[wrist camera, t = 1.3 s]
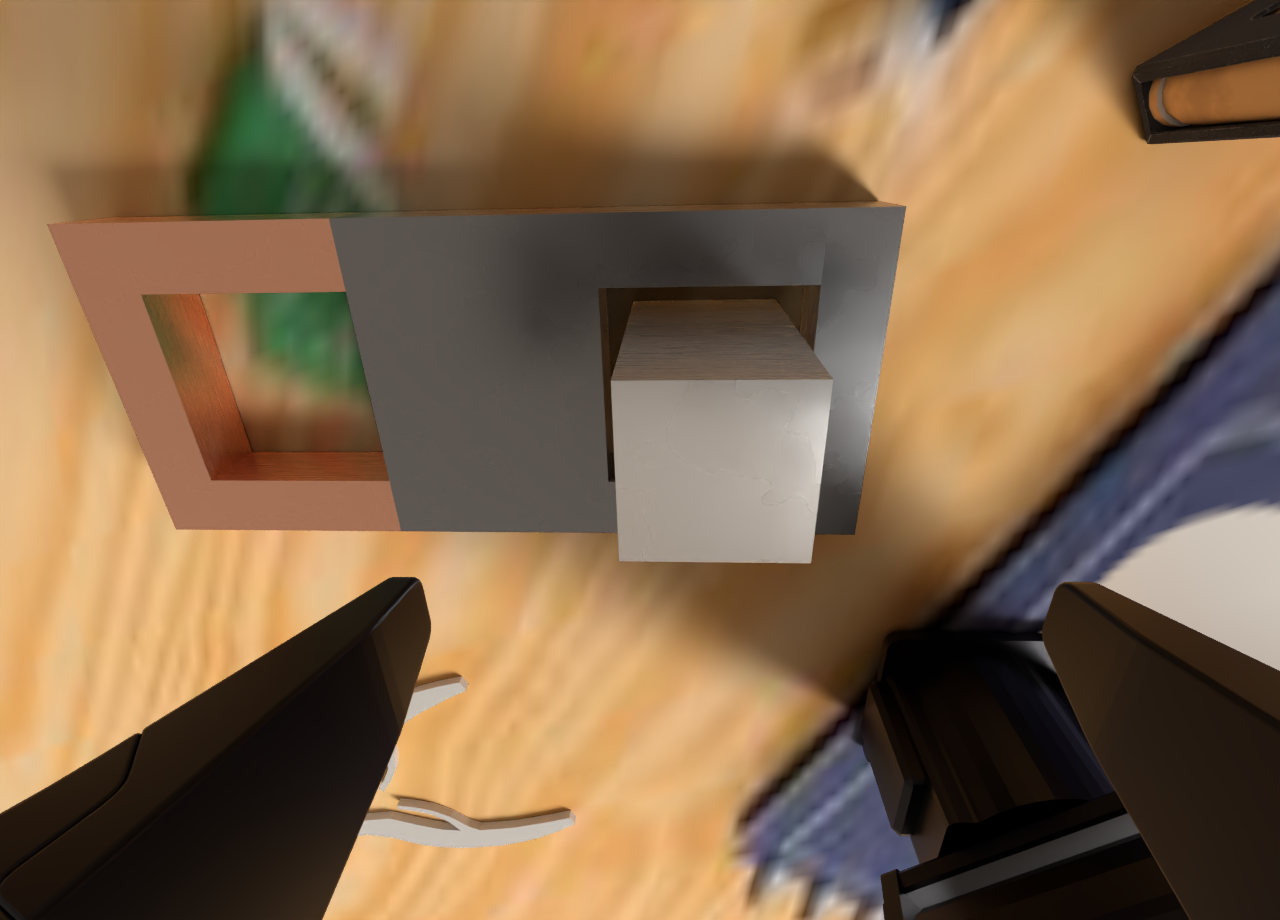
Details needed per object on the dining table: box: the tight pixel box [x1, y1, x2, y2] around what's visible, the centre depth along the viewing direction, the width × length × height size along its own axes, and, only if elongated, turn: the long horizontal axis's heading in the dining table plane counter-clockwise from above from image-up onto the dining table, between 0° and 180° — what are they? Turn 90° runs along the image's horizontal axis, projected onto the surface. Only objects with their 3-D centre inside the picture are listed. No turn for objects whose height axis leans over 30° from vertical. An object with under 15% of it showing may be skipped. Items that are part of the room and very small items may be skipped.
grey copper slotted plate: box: [47, 201, 906, 535], centre depth 18 cm, size 21×9×2 cm, turn 92°
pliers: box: [358, 676, 576, 848], centre depth 27 cm, size 10×2×15 cm
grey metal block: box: [611, 299, 833, 563], centre depth 15 cm, size 4×4×7 cm
